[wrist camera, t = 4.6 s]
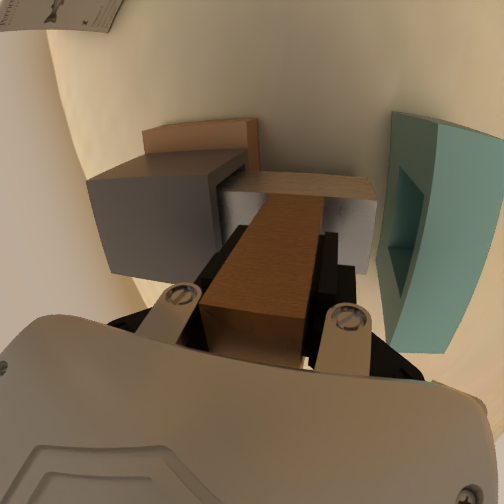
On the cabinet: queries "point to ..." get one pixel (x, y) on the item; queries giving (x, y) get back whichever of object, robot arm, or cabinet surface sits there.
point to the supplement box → (57, 15)
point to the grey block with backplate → (171, 198)
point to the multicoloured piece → (280, 258)
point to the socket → (435, 227)
